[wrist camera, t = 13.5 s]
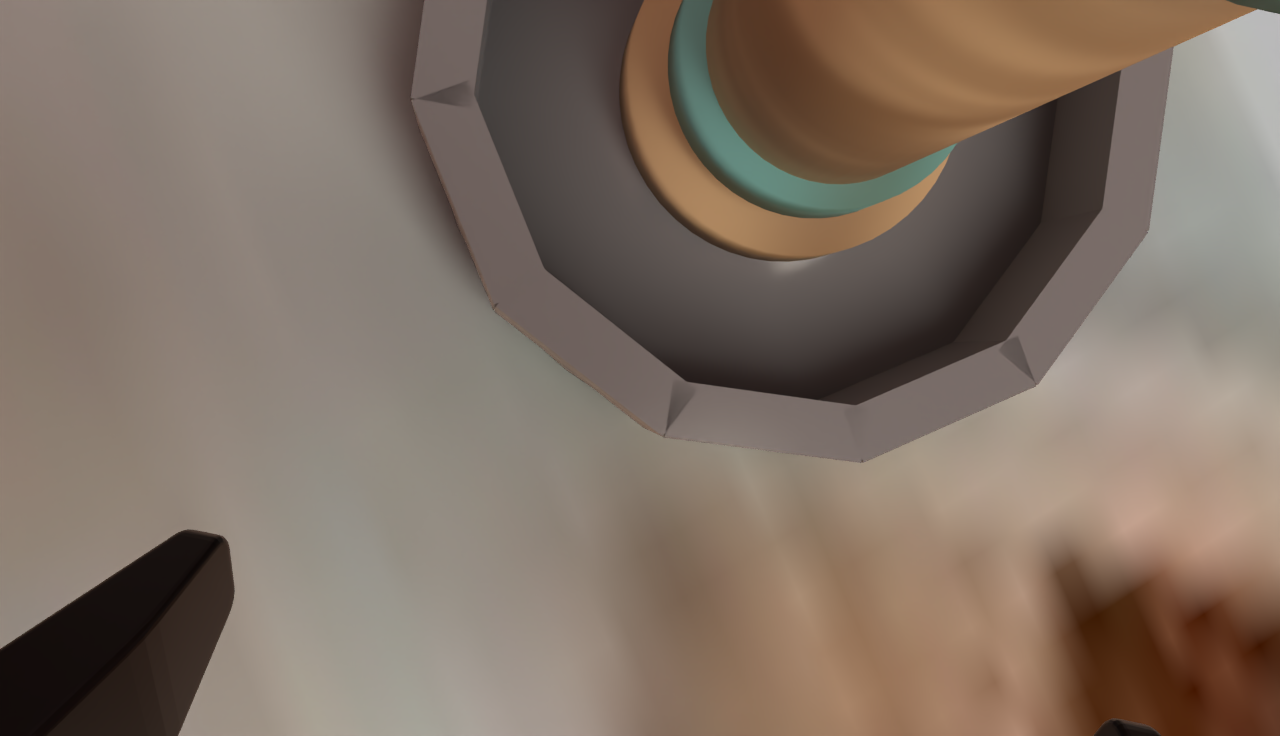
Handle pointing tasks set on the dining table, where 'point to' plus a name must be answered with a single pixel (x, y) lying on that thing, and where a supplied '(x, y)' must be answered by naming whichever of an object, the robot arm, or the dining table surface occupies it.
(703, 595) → the dining table surface
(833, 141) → the disc
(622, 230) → the round tray
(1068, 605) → the dining table surface
